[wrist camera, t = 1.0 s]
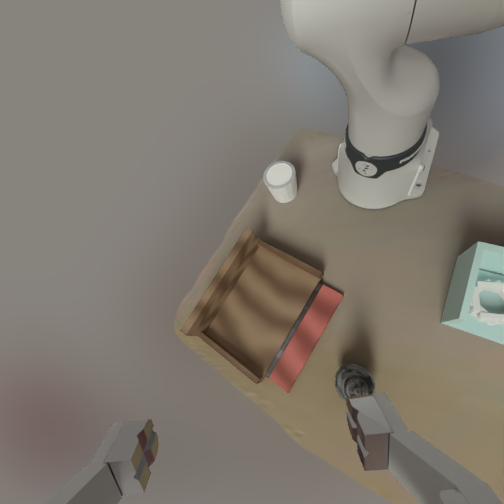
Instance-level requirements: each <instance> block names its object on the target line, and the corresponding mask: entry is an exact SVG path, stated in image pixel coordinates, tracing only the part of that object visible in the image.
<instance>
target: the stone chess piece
mask: <svg viewBox="0 0 504 504" xmlns="http://www.w3.org/2000/svg"><path fill="white" fill-rule="evenodd" d="M335 387H336V389H337V392H338V393H339V395H340V396H341V397H342V398H343V399H344V400H345V401H346V398H347V397H352V396H360V395H368V394H374V393H375V383H374V380H373V378H372V376H371V374H370V373H369V372H368V371H367V370H366V369H365V368H364V367H362V366H360V365H357V364H347V365H344V366H342V367H341V368H340V369H339V370H338V371H337V374H336V376H335Z"/></svg>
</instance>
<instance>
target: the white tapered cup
mask: <svg viewBox="0 0 504 504" xmlns="http://www.w3.org/2000/svg"><path fill="white" fill-rule="evenodd" d="M263 179H264V183H265V184H266V186H267V187H268V189H269V190H270V192H271V193H272V195H273V196H274V198H275V199H276V200H277V201H279V202H281V203H286V202H290V201H291V200H293V199H294V198H295V196H296V195H297V191H298V190H297V181H296V172H295V168H294V166H293V165H292V164H291V163H290V162H287V161H277V162H274V163H272V164H271V165H270V166H268V167H267V169H266V170H265V172H264V176H263Z"/></svg>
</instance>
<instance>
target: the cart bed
mask: <svg viewBox="0 0 504 504" xmlns="http://www.w3.org/2000/svg"><path fill="white" fill-rule="evenodd" d="M322 278H323V274H322V272H321V271H319V270H317V269H315V268H313V267H311V266H309V265H307V264H306V263H304V262H302V261H300V260H298V259H296V258H294V257H292V256H290V255H288V254H286V253H284V252H282V251H280V250H279V249H277V248H275V247H273V246H271V245H269V244H267V243H265V242H263V241H261V240H259V239H258V237H257V236H256V235H255V234H254V232H253V231H252V230H250V229H248V228H246V229H245V231H244V232H243V234H242V236H241V237H240V239H239V240H238V242H237V243H236V245H235V246H234V248H233V250H232V251H231V253H230V254H229V256H228V257H227V259H226V260H225V262H224V264H223V265H222V267H221V268H220V270H219V271H218V273H217V274H216V276H215V278H214V279H213V281H212V282H211V284H210V285H209V287H208V288H207V290H206V292H205V293H204V295H203V296H202V298H201V299H200V301H199V302H198V304H197V306H196V307H195V309H194V310H193V312H192V313H191V315H190V316H189V318H188V320H187V321H186V323H185V324H184V326H183V327H182V329H181V330H180V331H181V332H182V333H184V334H185V335H188V336H198V337H200V338H201V339H202V340H203V341H205V342H206V343H207V344H208V345H209V346H211V347H212V348H213V349H214V350H215V351H217V352H218V353H219V354H220V355H222V356H223V357H224V358H225V359H226V360H228V361H229V362H230V363H231V364H232V365H234V366H235V367H236V368H237V369H239V370H240V371H241V372H242V373H243V374H245V375H246V376H247V377H248V378H249V379H251V380H252V381H253V382H254V383H256V384H258V383H260V382H262V381H263V379H264V377H265V376H266V377H268V378H270V379H271V380H272V381H273V382H275V383H276V384H277V385H278V386H280V387H281V388H282V389H284V390H285V391H286V392H287V393H289V391H290V390H291V388H292V386H293V384H294V382H295V381H296V379H297V377H298V375H299V374H300V372H301V370H302V368H303V367H304V365H305V363H306V361H307V359H308V358H309V356H310V354H311V352H312V351H313V349H314V347H315V345H316V344H317V342H318V340H319V338H320V336H321V335H322V333H323V331H324V329H325V328H326V326H327V324H328V322H329V321H330V319H331V317H332V315H333V313H334V312H335V310H336V308H337V306H338V305H339V303H340V301H341V299H342V298H343V295H342V294H340V293H338V292H336V291H335V290H333V289H331V288H329V287H327V286H325V285H323V284H322V283H320V281H321V279H322Z"/></svg>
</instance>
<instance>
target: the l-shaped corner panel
mask: <svg viewBox="0 0 504 504" xmlns="http://www.w3.org/2000/svg"><path fill="white" fill-rule="evenodd" d="M479 268H480V269H484V270H488V271H491V272H495V273H499V274H503V275H504V247H502V246H497V245H493V244H488V243H484V242H479V241H478V242H477V243H475V244H474V245H473V246H471V247H470V248H469V249H467V250H466V251H465V252H463V253H462V254H461V255H459V256H458V257H457V261H456V264H455V268H454V272H453V276H452V280H451V284H450V287H449V291H448V295H447V299H446V303H445V307H444V310H443V314H442V318H441V322H440V323H443V324H446V325H448V326H451V327H454V328H457V329H460V330H463V331H466V332H469V333H472V334H475V335H477V336H480V337H483V338H486V339H489V340H492V341H495V342H498V343H501V344H504V276H503V275H499V274H494V273H490V272H486V271H482V270H479Z"/></svg>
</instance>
